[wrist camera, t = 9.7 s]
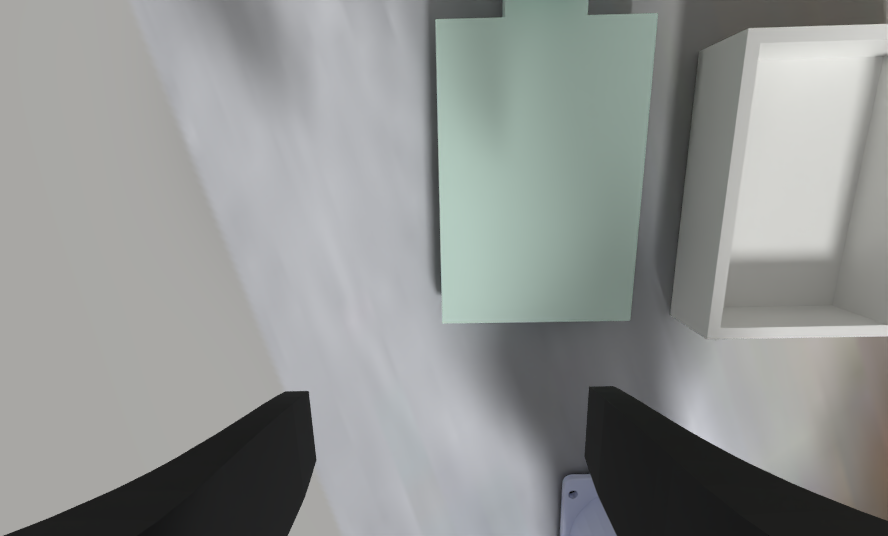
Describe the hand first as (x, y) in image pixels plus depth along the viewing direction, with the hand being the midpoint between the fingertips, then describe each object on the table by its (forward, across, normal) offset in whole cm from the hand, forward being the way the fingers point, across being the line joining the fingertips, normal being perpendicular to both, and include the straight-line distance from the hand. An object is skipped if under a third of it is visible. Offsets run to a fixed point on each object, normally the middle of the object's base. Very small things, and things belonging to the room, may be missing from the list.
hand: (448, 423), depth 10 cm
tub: (+10, -15, -5) cm, 19 cm away
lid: (+10, -4, -8) cm, 14 cm away
